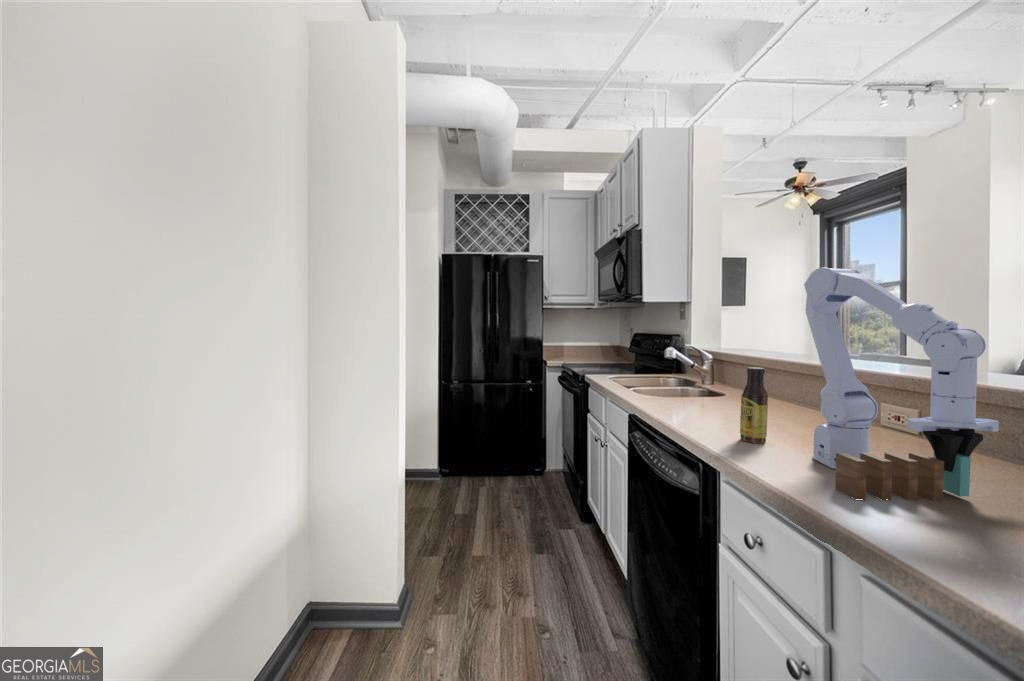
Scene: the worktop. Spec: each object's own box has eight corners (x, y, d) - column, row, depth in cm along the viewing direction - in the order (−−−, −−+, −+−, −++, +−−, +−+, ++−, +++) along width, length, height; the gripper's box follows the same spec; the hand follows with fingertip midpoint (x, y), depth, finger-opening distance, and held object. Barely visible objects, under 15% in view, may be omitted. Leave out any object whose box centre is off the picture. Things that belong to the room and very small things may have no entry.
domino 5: (959, 496, 75) (961, 457, 74) (932, 485, 80) (933, 448, 79) (969, 496, 75) (970, 457, 74) (941, 485, 80) (942, 448, 79)
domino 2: (882, 500, 75) (883, 461, 75) (859, 489, 80) (860, 452, 80) (891, 500, 75) (892, 461, 75) (868, 489, 80) (868, 452, 80)
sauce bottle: (735, 438, 116) (736, 366, 116) (758, 438, 116) (759, 366, 116) (748, 444, 110) (749, 368, 109) (772, 444, 110) (773, 368, 109)
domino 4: (933, 500, 75) (934, 461, 74) (907, 489, 80) (908, 452, 79) (943, 500, 75) (944, 461, 74) (916, 489, 80) (917, 452, 79)
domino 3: (907, 500, 75) (908, 461, 74) (883, 489, 80) (884, 452, 79) (917, 500, 75) (918, 461, 74) (892, 489, 80) (893, 452, 79)
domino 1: (856, 500, 75) (857, 461, 75) (835, 489, 80) (836, 452, 80) (865, 500, 75) (866, 461, 75) (843, 489, 80) (844, 452, 80)
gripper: (933, 399, 73) (931, 477, 73) (1019, 399, 72) (1017, 477, 73) (897, 393, 80) (895, 464, 80) (975, 393, 79) (973, 464, 80)
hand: (950, 470), depth 77 cm, fingers closed on domino 5, 1 cm apart
